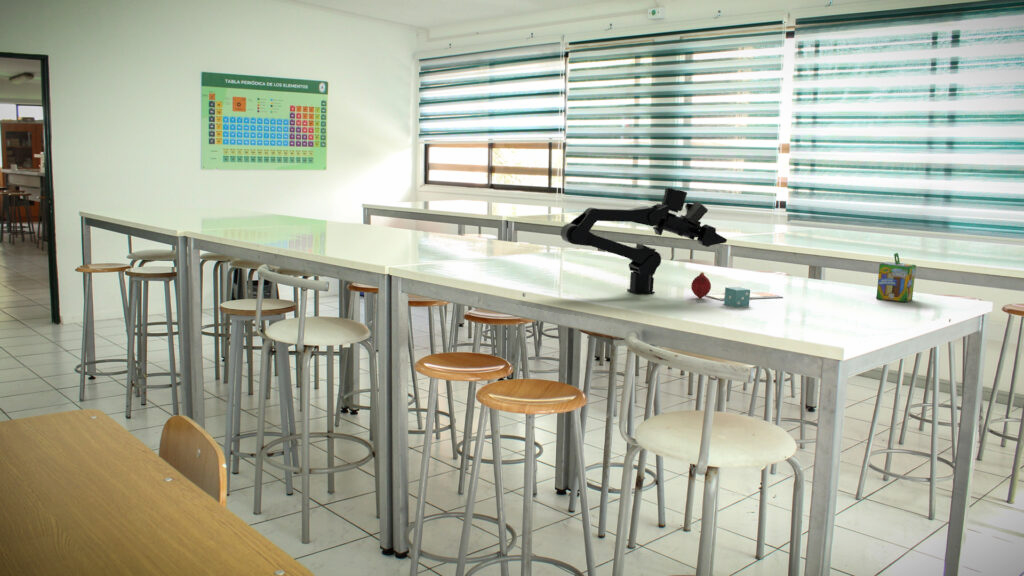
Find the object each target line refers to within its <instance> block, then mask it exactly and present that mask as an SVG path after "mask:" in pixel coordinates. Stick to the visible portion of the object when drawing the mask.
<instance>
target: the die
mask: <svg viewBox="0 0 1024 576" xmlns="http://www.w3.org/2000/svg"><path fill="white" fill-rule="evenodd" d="M750 293H751V289H749V288H745V287H742V286H741V287H740V286H729V287H725V289H724V294H725V298H724V300H723V304H724V305H726V304H727V306H729V307H730V306H731V307H733V306H734V308H738V307H739V306H740V307H739V308H741V306H747V307H750V300H751V299H750Z"/></svg>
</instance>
